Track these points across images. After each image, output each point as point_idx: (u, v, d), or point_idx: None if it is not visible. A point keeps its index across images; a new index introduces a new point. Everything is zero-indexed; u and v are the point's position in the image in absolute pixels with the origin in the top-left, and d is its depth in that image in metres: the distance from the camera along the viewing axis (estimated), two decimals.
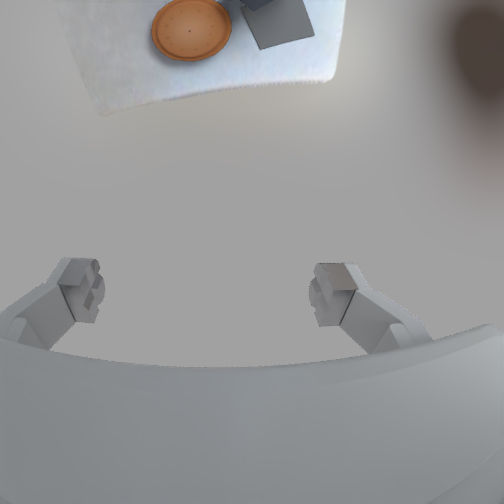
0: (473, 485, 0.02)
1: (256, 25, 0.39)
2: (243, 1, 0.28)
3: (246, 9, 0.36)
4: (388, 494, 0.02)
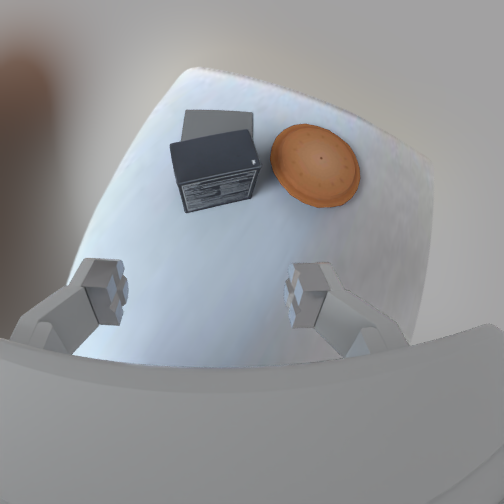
0: (473, 485, 0.02)
1: None
2: (252, 145, 0.32)
3: None
4: (388, 494, 0.02)
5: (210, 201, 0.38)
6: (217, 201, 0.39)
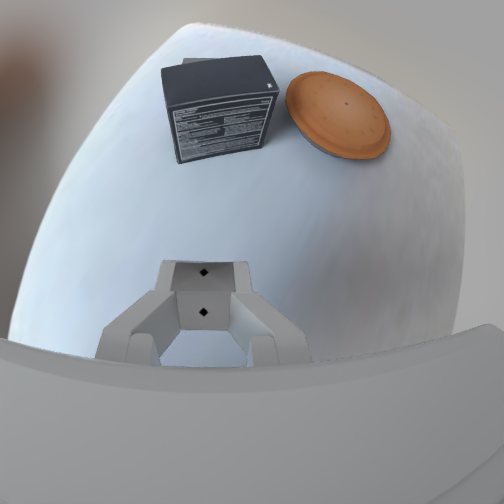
0: (473, 485, 0.02)
1: None
2: (267, 69, 0.22)
3: None
4: (388, 494, 0.02)
5: (210, 145, 0.28)
6: (220, 146, 0.29)
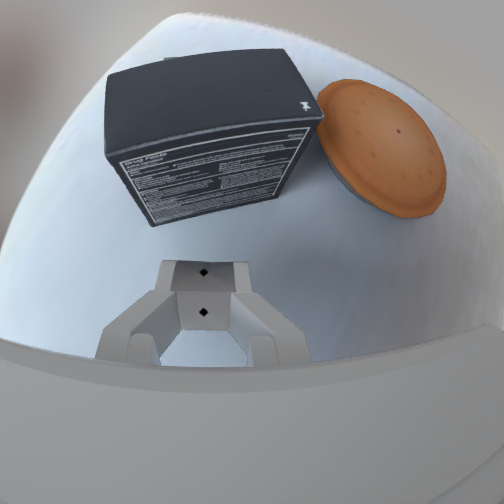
0: (473, 485, 0.02)
1: None
2: (297, 74, 0.12)
3: None
4: (388, 494, 0.02)
5: (197, 202, 0.18)
6: (213, 202, 0.19)
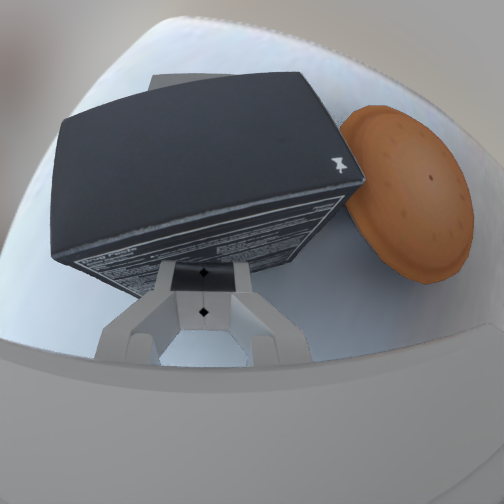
0: (473, 485, 0.02)
1: None
2: (322, 111, 0.09)
3: None
4: (388, 494, 0.03)
5: None
6: None
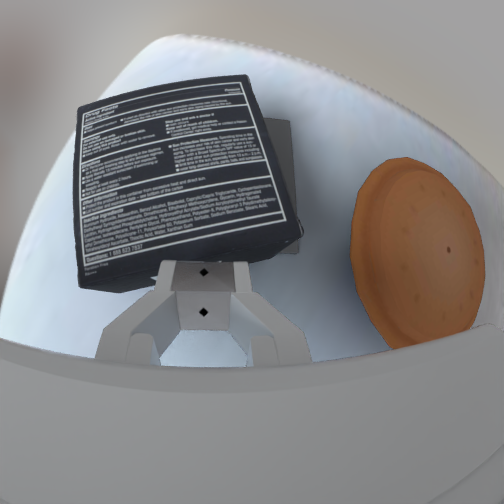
0: (473, 485, 0.02)
1: None
2: None
3: None
4: (388, 494, 0.02)
5: (147, 208, 0.11)
6: (174, 217, 0.11)
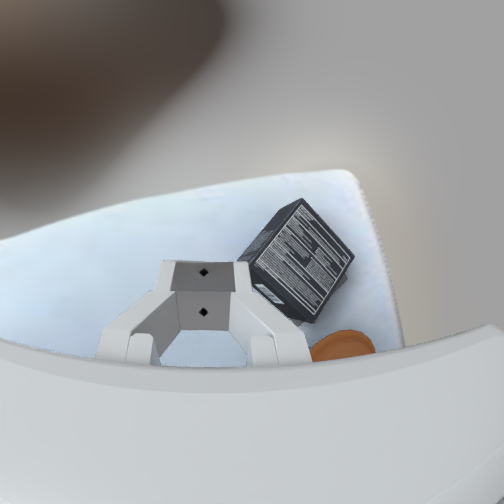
0: (473, 485, 0.02)
1: None
2: None
3: None
4: (388, 494, 0.02)
5: (289, 269, 0.29)
6: (292, 281, 0.29)
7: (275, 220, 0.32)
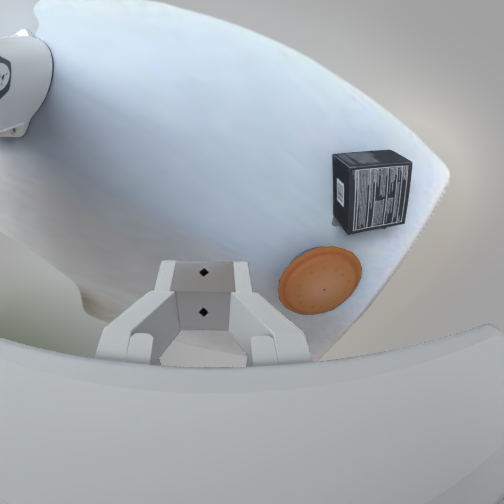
0: (473, 485, 0.02)
1: None
2: None
3: (336, 219, 0.43)
4: (388, 494, 0.03)
5: (367, 192, 0.33)
6: (362, 200, 0.34)
7: (384, 156, 0.33)
